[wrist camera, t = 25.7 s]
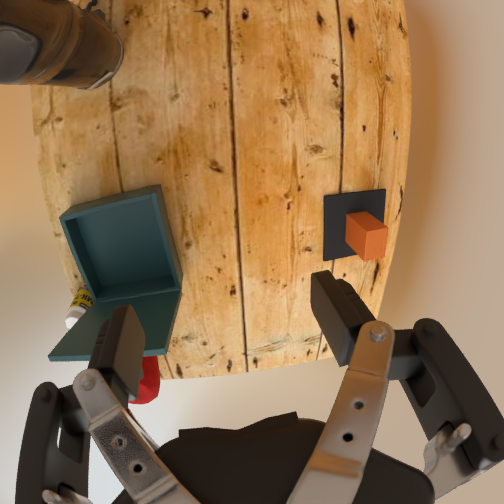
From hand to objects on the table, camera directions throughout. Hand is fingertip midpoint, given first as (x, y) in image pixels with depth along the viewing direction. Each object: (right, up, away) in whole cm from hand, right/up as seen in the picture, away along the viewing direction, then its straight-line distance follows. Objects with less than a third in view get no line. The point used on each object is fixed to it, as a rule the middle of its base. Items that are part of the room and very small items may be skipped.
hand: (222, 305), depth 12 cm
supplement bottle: (-28, -6, +33) cm, 44 cm away
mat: (+19, +7, +34) cm, 40 cm away
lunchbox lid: (-16, -7, +21) cm, 27 cm away
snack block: (+19, +7, +34) cm, 40 cm away
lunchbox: (-19, +4, +29) cm, 35 cm away
